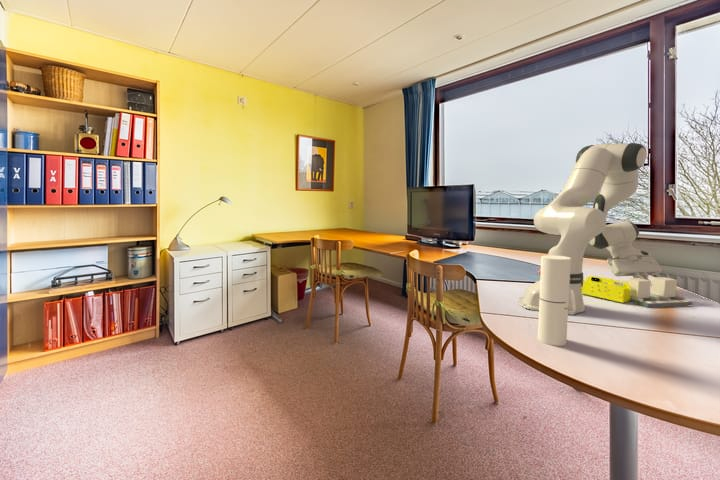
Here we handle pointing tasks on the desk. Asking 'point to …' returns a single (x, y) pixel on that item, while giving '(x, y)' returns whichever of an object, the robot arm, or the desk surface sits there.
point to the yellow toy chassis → (606, 289)
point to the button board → (659, 301)
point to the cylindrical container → (554, 299)
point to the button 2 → (664, 286)
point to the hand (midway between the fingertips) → (646, 283)
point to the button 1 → (639, 287)
